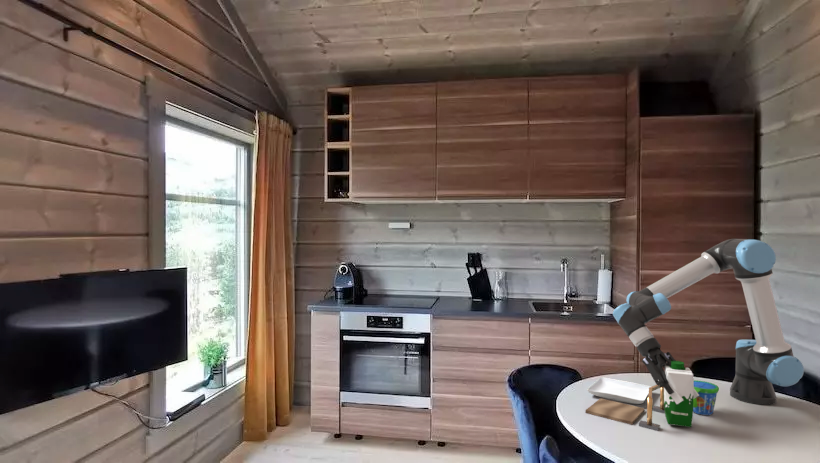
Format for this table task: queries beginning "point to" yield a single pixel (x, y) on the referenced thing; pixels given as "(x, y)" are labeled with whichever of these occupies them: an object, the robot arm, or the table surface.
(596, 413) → the walnut board
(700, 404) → the snack cup
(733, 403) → the table surface
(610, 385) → the salad plate
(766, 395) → the robot arm
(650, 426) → the copper wire
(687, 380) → the soya milk
